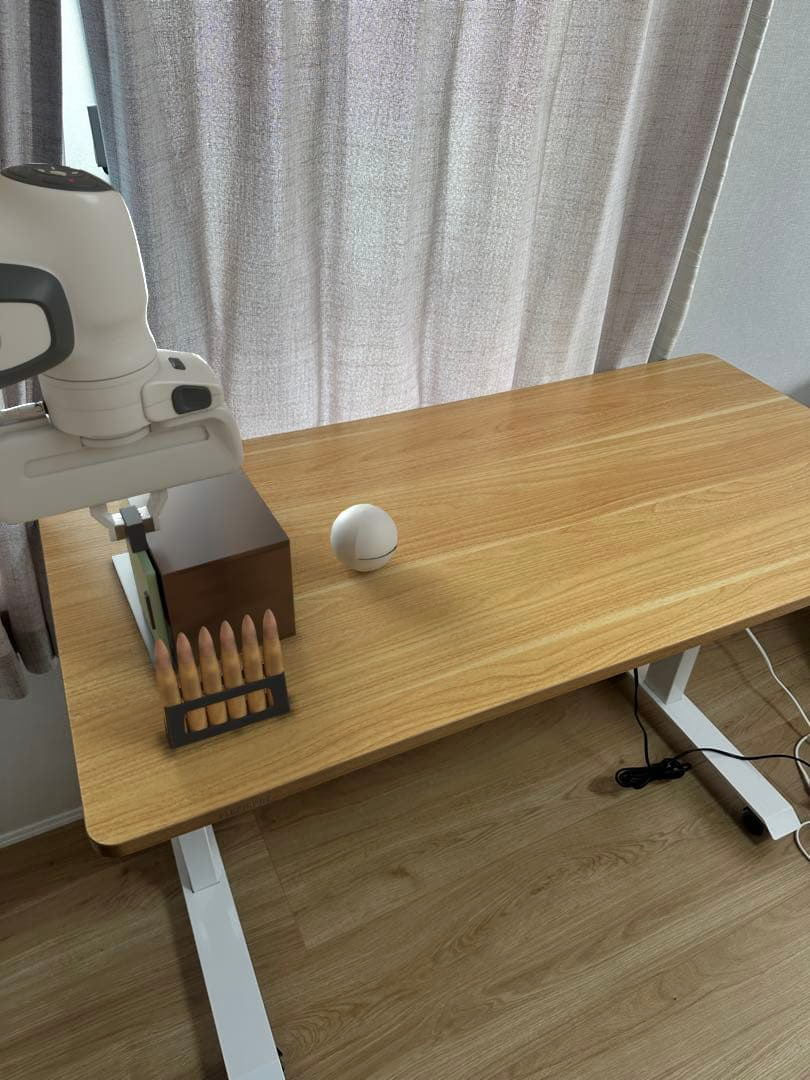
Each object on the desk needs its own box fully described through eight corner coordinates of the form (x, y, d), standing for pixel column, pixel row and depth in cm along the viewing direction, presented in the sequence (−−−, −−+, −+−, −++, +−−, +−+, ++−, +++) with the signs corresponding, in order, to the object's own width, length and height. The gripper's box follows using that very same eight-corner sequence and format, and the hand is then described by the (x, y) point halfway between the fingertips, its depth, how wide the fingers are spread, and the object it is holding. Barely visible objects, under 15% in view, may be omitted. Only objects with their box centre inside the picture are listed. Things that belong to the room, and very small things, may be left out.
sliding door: (161, 666, 75) (136, 548, 66) (136, 604, 81) (110, 489, 73) (176, 661, 75) (153, 543, 67) (150, 600, 82) (126, 485, 73)
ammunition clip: (170, 750, 69) (147, 650, 61) (166, 733, 70) (143, 634, 63) (290, 711, 72) (283, 613, 65) (284, 697, 74) (276, 599, 66)
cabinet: (158, 680, 75) (136, 582, 67) (112, 560, 88) (89, 467, 81) (296, 634, 80) (290, 539, 73) (232, 528, 94) (221, 438, 86)
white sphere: (340, 591, 85) (339, 536, 81) (324, 550, 91) (322, 496, 86) (429, 574, 88) (433, 520, 84) (407, 535, 94) (410, 482, 89)
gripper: (-39, 437, 56) (13, 587, 65) (242, 383, 64) (256, 522, 73) (-47, 398, 61) (3, 543, 69) (218, 352, 69) (233, 487, 77)
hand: (134, 532), depth 71 cm, fingers closed on sliding door
